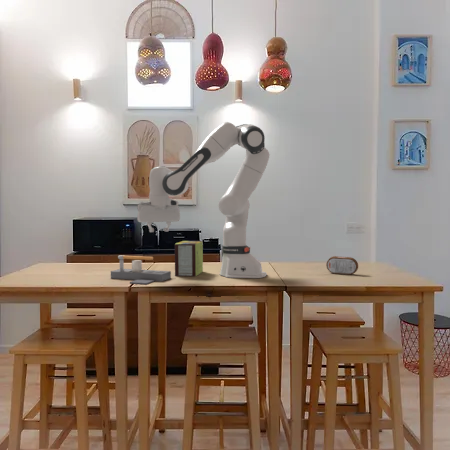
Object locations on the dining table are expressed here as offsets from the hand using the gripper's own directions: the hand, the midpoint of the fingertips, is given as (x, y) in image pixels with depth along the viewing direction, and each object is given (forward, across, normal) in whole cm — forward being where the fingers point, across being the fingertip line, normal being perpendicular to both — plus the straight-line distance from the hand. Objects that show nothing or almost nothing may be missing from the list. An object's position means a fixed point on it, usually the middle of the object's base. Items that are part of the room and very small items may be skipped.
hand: (159, 231), depth 201 cm
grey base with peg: (+21, -8, +2) cm, 23 cm away
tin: (+21, +79, -39) cm, 91 cm away
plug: (+21, -10, +4) cm, 24 cm away
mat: (+21, -12, -8) cm, 25 cm away
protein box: (+22, +16, +2) cm, 27 cm away
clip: (+12, -10, +4) cm, 17 cm away
